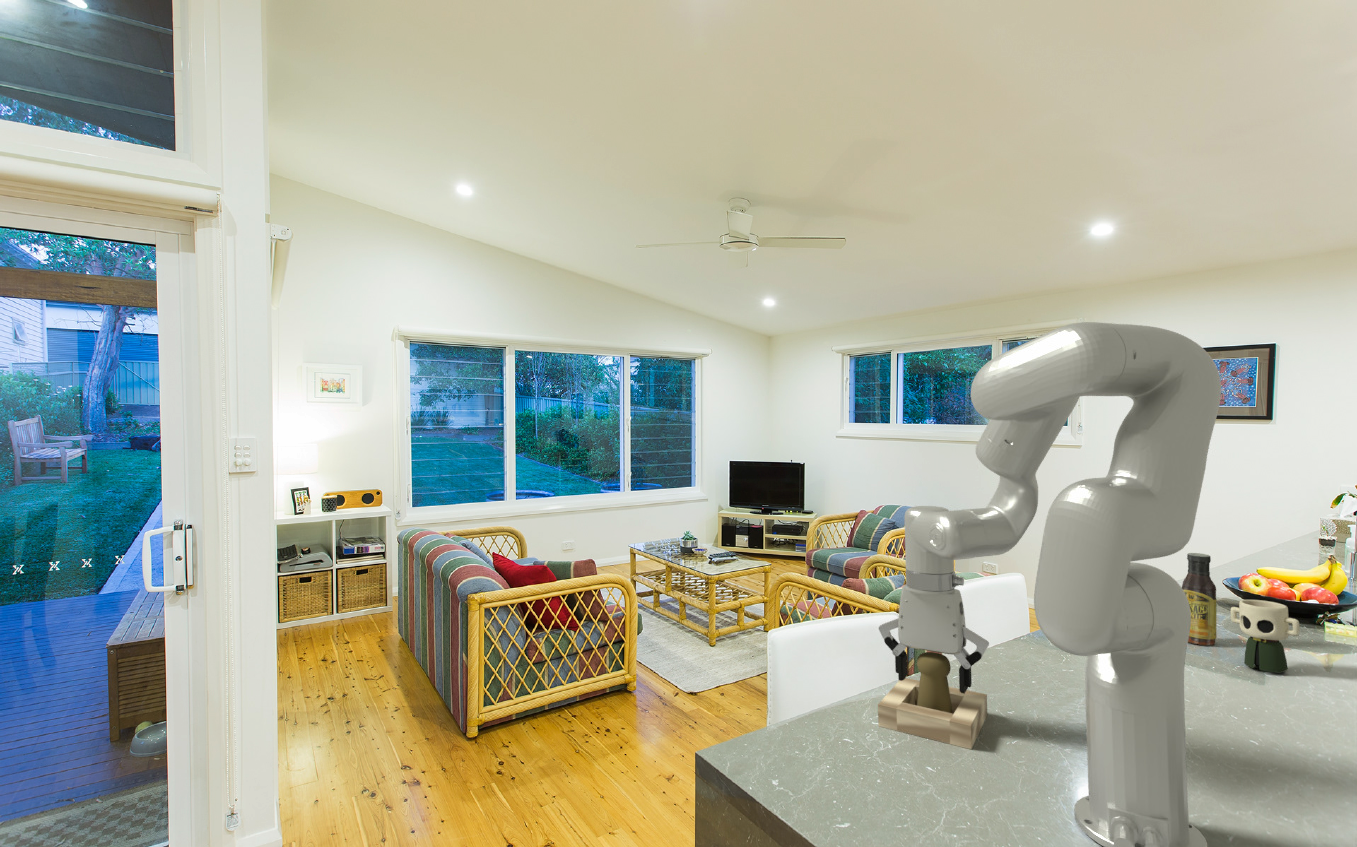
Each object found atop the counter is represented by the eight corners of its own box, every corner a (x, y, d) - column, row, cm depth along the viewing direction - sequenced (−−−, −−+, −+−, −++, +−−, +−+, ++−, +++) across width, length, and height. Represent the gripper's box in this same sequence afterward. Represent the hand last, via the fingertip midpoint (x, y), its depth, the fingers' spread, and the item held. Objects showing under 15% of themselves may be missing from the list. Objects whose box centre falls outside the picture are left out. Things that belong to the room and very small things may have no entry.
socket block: (971, 749, 94) (970, 725, 94) (878, 725, 102) (877, 704, 102) (987, 715, 105) (986, 694, 105) (902, 696, 113) (902, 677, 114)
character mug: (1222, 663, 127) (1219, 599, 128) (1242, 658, 130) (1240, 595, 130) (1291, 682, 117) (1288, 612, 118) (1311, 676, 120) (1308, 608, 120)
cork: (959, 730, 100) (957, 661, 100) (919, 727, 101) (918, 659, 101) (949, 714, 106) (947, 648, 106) (912, 711, 107) (910, 647, 107)
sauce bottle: (1174, 640, 142) (1171, 552, 142) (1190, 636, 144) (1186, 550, 145) (1209, 648, 136) (1205, 557, 136) (1224, 644, 138) (1220, 554, 139)
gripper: (990, 582, 102) (993, 687, 102) (884, 571, 112) (887, 667, 112) (982, 591, 96) (985, 703, 96) (871, 579, 106) (873, 680, 106)
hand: (932, 683), depth 104 cm, fingers open, 9 cm apart
